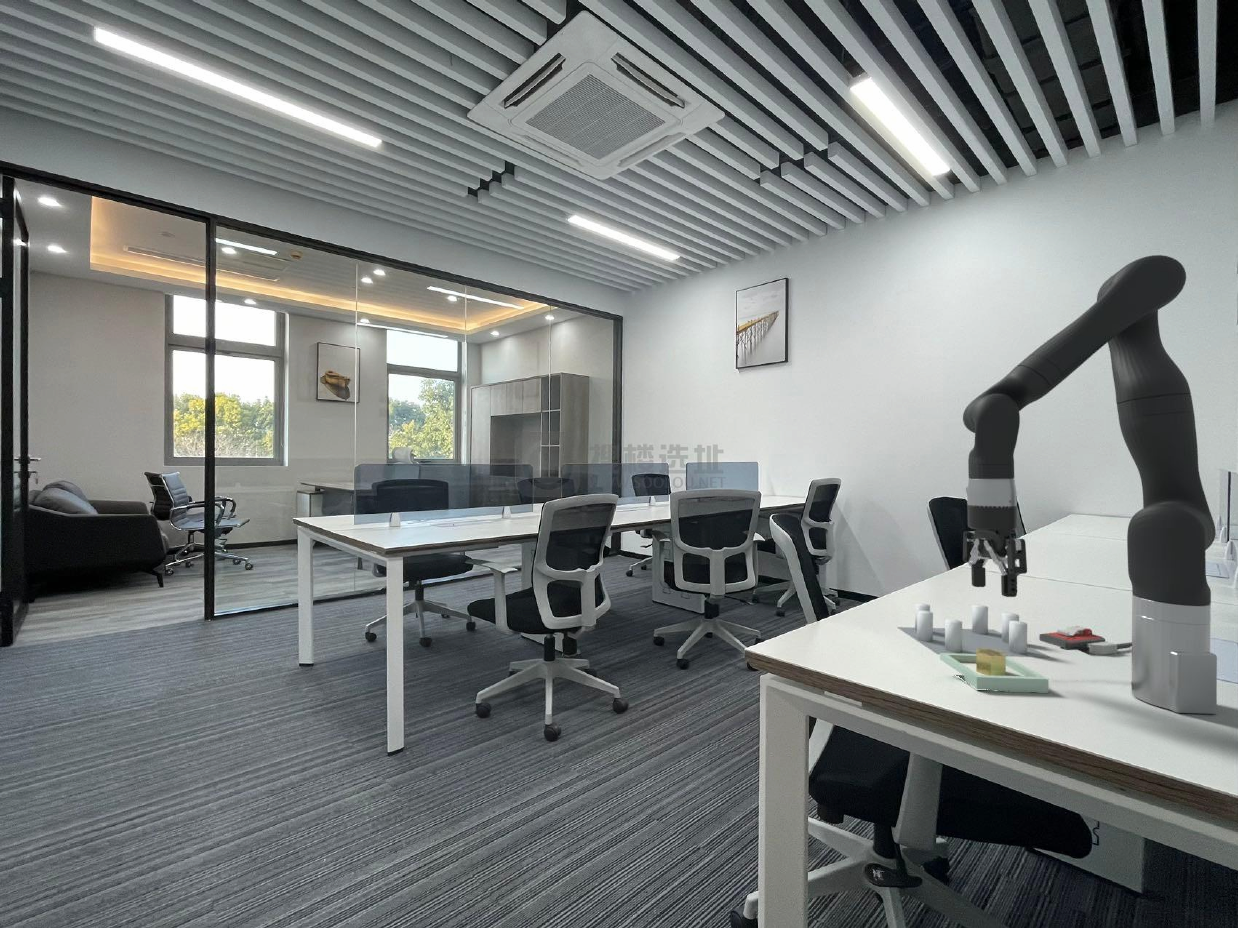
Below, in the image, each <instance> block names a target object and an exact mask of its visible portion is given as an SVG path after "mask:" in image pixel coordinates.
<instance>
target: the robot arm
mask: <svg viewBox="0 0 1238 928" xmlns="http://www.w3.org/2000/svg"><path fill="white" fill-rule="evenodd" d="M1186 281H1187V272H1186V269H1185V267H1184V266H1183V265H1182V263H1181V262H1180V261H1179V260H1178V259H1175V258H1174V257H1171V256H1169V255H1162V254H1161V255H1160V254H1158V255H1156V254H1155V255H1149V256H1148V255H1147V256H1143V257H1140V258H1138V259H1136V260H1134V261H1131V262H1129V263H1128V264H1126V265H1125V266H1124V267H1122V268H1121V269H1119V270H1118V271H1117V272H1115V273H1114V274H1113V275H1111V276H1110V277H1109V278H1107V280H1105V281H1104V282H1103V283H1102V285H1101V286H1100V288H1099V290H1098V292H1097V294H1096V302H1095V303H1094V304H1093V305H1092V306H1090V307H1089V308H1088V309H1086V311H1085V312H1084V313H1082V314H1081V315H1080V316H1078V318H1076V319H1075V320H1074V321H1072V322H1070V323H1069V324H1068V325H1067V326H1066V327H1064V328H1063V329H1061V330H1060V331H1059V332H1058V333H1056V334H1054V335H1053V336H1052V337H1051V338H1049V339H1047V340H1046V341H1045V342H1044V343H1043V344H1041V345H1040V346H1039V347H1037V348H1036V349H1035V350H1034V351H1033V352H1031V353H1030V354H1029V355H1028V356H1026V357H1025V358H1024V359H1023V360H1022V361H1020V362H1019V363H1018V364H1017V365H1015V366H1014V368H1013V369H1012V370H1011V371H1010V372H1009V373H1007V374H1006V375H1005V376H1004V377H1003V378H1002V379H1001V380H999V381H997V382H996V383H995V384H993V385H992V386H990V387H989V388H987V389H986V390H985V391H984V392H982V393H981V394H979V395H978V396H977V397H976V398H974V399H973V400H972V401H970V403H968V405H967V406H966V407H965V409H964V410H963V414H962V422H963V425H964V427H965V428H966V429H967V430H968V431H969V432H972V433H974V445H973V448H972V449H971V450H970V452H969V454H968V458H967V459H968V462H967V463H968V464H967V465H968V466H967V467H968V470H967V472H968V481H967V482H968V483H967V491H966V493H967V495H966V496H967V497H966V498H967V501H966V502H967V504H966V505H967V527H968V528H970V529H971V531H969V530H968V531H963V535H962V536H963V537H962V538H963V539H962V540H963V541H962V561H963V562H966V563H968V566H969V567H971V569H970V570H971V586H973V587H976V588H985V587H986V585H987V582H986V581H987V580H986V576H987V574H986V567H985V566H986V564H987V562H988V560H992V562H993V564H995V565H997V567H998V569H999V571H1000V573H1001V575H1000V576H1001V577H1000V583H1001V584H1000V585H1001V586H1000V588H1001V595H1002V596H1003V597H1005V598H1016V597H1017V595H1018V576H1020V575H1025V574H1027V573H1028V561H1027V548H1026V546H1027V545H1026V540H1025V539H1024V538H1012V536H1011V532H1012V531H1015V530H1017V529H1018V505H1017V504H1018V503H1017V501H1018V500H1017V497H1018V496H1017V495H1018V494H1017V487H1016V480H1015V457H1014V454H1015V449H1016V446H1017V442H1018V435H1019V430H1020V426H1021V425H1020V423H1021V421H1020V420H1021V415H1020V411H1022V410H1023V409H1024V408H1025V407H1026V406H1028V405H1030V404H1032V403H1034V402H1037V401H1038V400H1040V399H1042V398H1043V397H1045V396H1047V394H1049V393H1050V392H1051V391H1053V390H1054V389H1055V388H1056V387H1058V386H1059V384H1061V383H1062V382H1063V381H1065V380H1066V379H1067V378H1068V377H1069V376H1070V375H1071V374H1073V373H1074V372H1075V371H1076V370H1077V369H1078V368H1080V367H1081V366H1082V365H1083V364H1084V363H1086V361H1087V360H1089V359H1090V358H1091V357H1092V356H1093V355H1094V354H1095V353H1097V352H1098V351H1099V350H1100V349H1102V348H1103V347H1104V346H1105V345H1106V344H1107V346H1108V350H1109V353H1110V363H1111V370H1112V371H1111V372H1112V378H1113V384H1114V391H1115V402H1116V403H1115V404H1116V409H1117V410H1116V411H1117V416H1118V422H1119V428H1120V431H1121V435H1122V438H1123V441H1124V444H1125V446H1126V447H1127V449H1128V452H1129V454H1130V456H1131V458H1132V460H1133V462H1134V463H1135V466H1136V468H1137V470H1138V473H1139V476H1140V478H1139V479H1140V482H1141V487H1142V508H1141V509H1140V510H1138V511H1137V512H1135V513H1134V515H1133V516H1132V517H1131V518H1130V521H1129V523H1128V526H1127V535H1126V541H1127V542H1126V543H1127V547H1126V548H1127V549H1126V551H1127V552H1126V553H1127V571H1128V572H1127V573H1128V577H1129V580H1130V584H1131V587H1132V588H1131V589H1132V590H1131V592H1132V593H1131V597H1132V599H1131V604H1132V605H1131V610H1132V611H1131V642H1132V646H1131V694H1132V696H1133V697H1135V698H1137V699H1138V700H1140V701H1142V702H1145V703H1148V704H1151V705H1153V706H1156V707H1160V708H1164V709H1166V710H1171V711H1173V712H1174V713H1177V714H1178V713H1181V714H1184V713H1185V714H1205V715H1206V714H1207V715H1209V714H1210V715H1217V712H1218V711H1217V703H1218V702H1217V701H1218V699H1217V698H1218V697H1217V696H1218V695H1217V693H1218V692H1217V690H1218V686H1217V685H1218V657H1217V655H1216V653H1213V652H1211V620H1212V619H1211V617H1212V616H1211V614H1212V613H1211V612H1212V611H1211V609H1212V608H1211V605H1212V604H1211V603H1212V590H1211V587H1210V586H1209V584H1208V580H1207V574H1206V573H1207V572H1206V569H1207V567H1206V563H1207V562H1206V550H1208V549H1210V547H1211V546H1212V544H1213V543H1214V542H1215V538H1216V535H1217V534H1216V533H1217V532H1216V525H1215V522H1214V519H1213V515H1212V513H1211V510H1210V507H1209V503H1208V501H1207V497H1206V493H1205V491H1204V490H1205V489H1204V486H1203V485H1202V480H1201V477H1200V476H1201V475H1200V471H1199V469H1200V467H1199V452H1198V449H1199V448H1198V437H1197V429H1196V418H1195V409H1194V403H1193V397H1192V392H1191V388H1190V386H1189V385H1190V384H1189V382H1188V380H1187V377H1186V376H1185V375H1184V373H1183V372H1182V370H1181V368H1180V367H1178V365H1177V364H1176V363H1175V362H1174V359H1172V358H1171V356H1170V355H1169V354H1168V352H1167V351H1166V349H1165V347H1164V345H1163V343H1162V342H1163V341H1162V339H1161V334H1160V326H1159V310H1160V309H1162V308H1163V307H1165V306H1167V305H1168V304H1170V303H1171V302H1173V301H1174V300H1175V299H1176V298H1177V297H1178V296H1179V294H1180V293H1181V292H1182V291H1183V290H1184V287H1185V285H1186ZM972 530H973V531H972ZM1017 561H1018V565H1017ZM1006 565H1007V566H1006Z"/></svg>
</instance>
